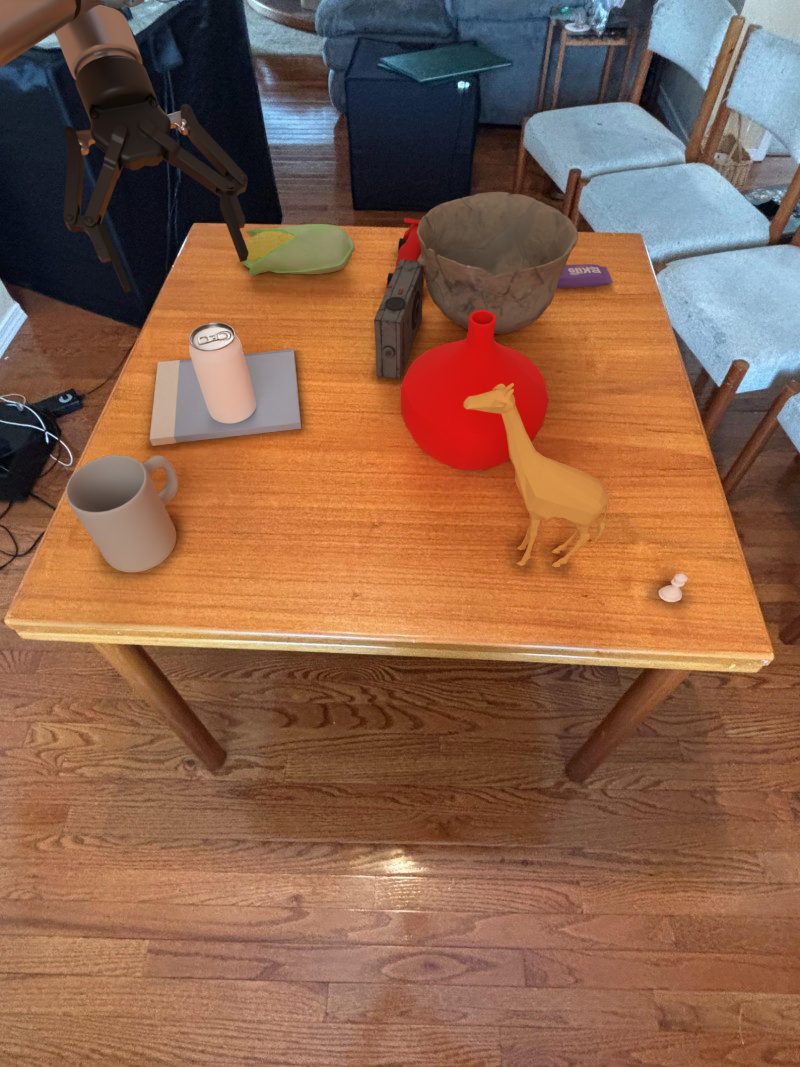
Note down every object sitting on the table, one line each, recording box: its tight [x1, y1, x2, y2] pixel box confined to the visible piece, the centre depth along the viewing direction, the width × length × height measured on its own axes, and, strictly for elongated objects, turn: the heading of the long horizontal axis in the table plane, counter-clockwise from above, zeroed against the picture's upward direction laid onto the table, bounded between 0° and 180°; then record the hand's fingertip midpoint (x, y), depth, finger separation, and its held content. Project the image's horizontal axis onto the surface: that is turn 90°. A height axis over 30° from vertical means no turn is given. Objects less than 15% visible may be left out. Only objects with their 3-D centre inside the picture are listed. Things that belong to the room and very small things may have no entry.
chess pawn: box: [658, 572, 689, 603], centre depth 69 cm, size 3×2×4 cm
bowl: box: [417, 191, 579, 335], centre depth 95 cm, size 22×22×15 cm
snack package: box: [556, 263, 614, 289], centre depth 107 cm, size 12×2×5 cm
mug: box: [65, 454, 180, 573], centre depth 72 cm, size 12×8×11 cm
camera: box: [373, 259, 424, 380], centre depth 93 cm, size 16×4×10 cm, turn 167°
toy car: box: [385, 217, 425, 289], centre depth 107 cm, size 6×18×5 cm, turn 170°
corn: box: [242, 223, 356, 277], centre depth 107 cm, size 8×8×20 cm
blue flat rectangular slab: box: [149, 348, 302, 447], centre depth 90 cm, size 20×16×1 cm
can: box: [188, 321, 256, 424], centre depth 83 cm, size 6×6×12 cm
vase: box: [399, 310, 549, 471], centre depth 78 cm, size 18×18×19 cm
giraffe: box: [463, 383, 610, 568], centre depth 64 cm, size 16×4×25 cm, turn 83°
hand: (187, 273), depth 72 cm, fingers open, 13 cm apart
